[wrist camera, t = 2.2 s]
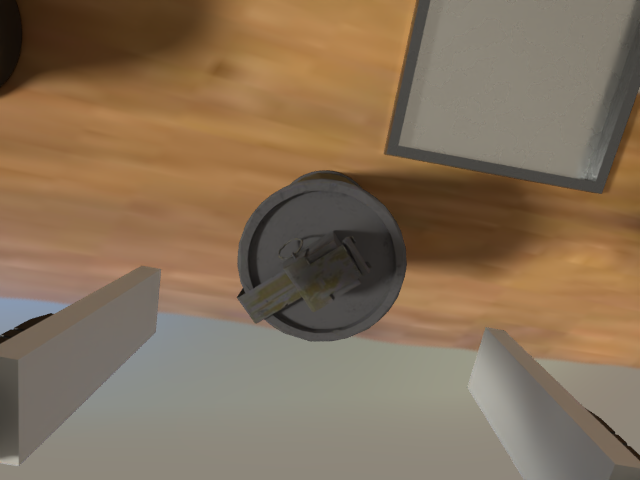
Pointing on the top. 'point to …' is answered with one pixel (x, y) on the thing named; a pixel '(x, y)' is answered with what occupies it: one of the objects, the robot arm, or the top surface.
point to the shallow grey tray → (518, 87)
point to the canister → (321, 259)
